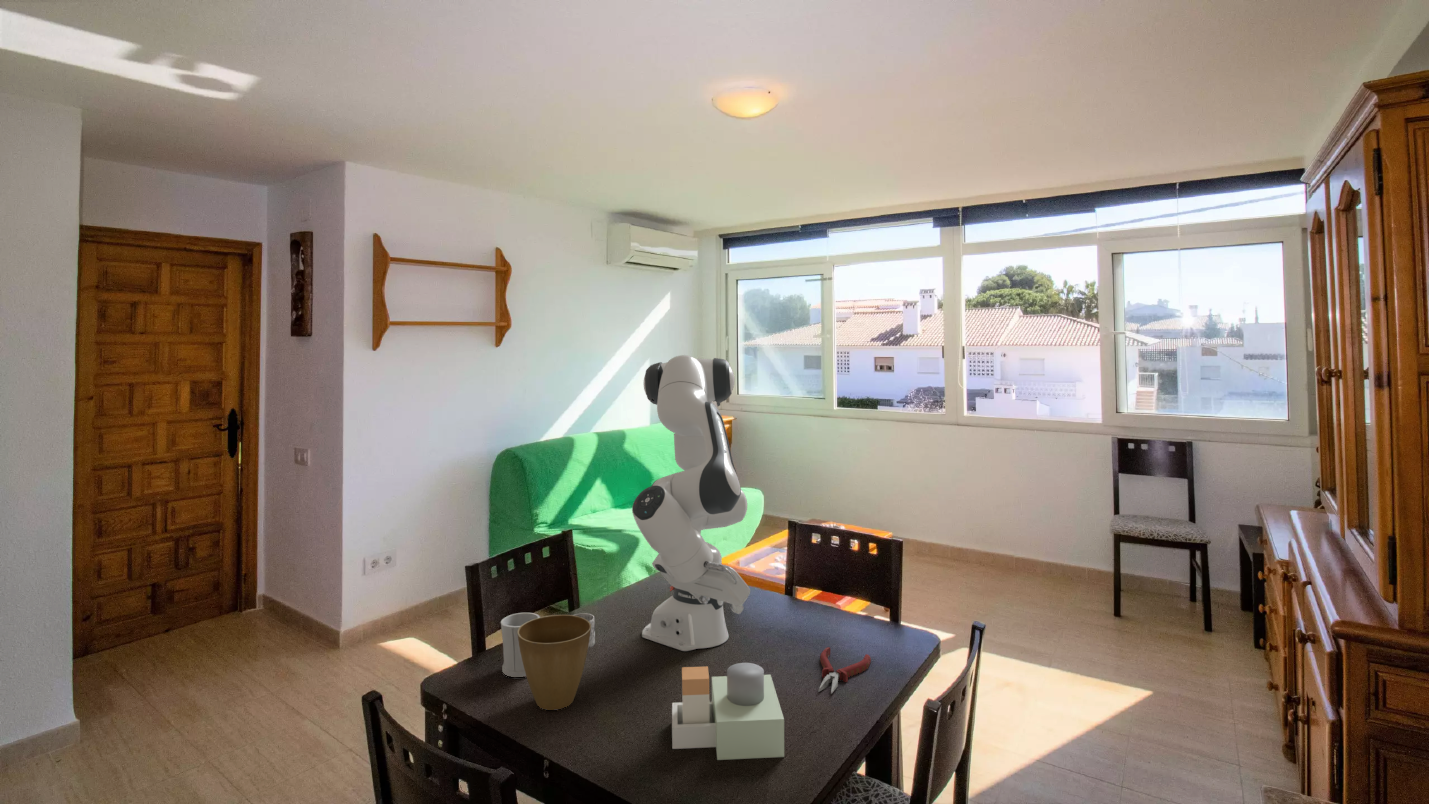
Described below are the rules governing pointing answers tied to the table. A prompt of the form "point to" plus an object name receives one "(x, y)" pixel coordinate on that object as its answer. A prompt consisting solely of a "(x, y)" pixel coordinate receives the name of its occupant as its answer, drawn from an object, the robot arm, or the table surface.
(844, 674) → the pliers
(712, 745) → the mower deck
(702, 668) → the two-tone orange block
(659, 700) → the table surface
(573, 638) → the plant pot
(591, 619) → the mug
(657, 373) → the robot arm
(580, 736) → the table surface
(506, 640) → the cup
